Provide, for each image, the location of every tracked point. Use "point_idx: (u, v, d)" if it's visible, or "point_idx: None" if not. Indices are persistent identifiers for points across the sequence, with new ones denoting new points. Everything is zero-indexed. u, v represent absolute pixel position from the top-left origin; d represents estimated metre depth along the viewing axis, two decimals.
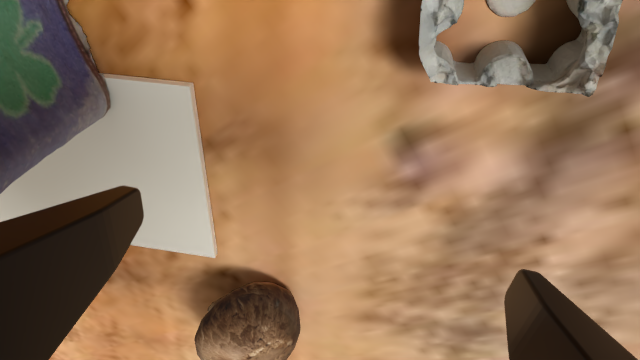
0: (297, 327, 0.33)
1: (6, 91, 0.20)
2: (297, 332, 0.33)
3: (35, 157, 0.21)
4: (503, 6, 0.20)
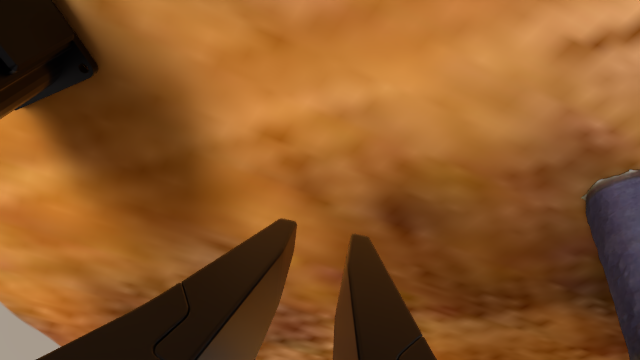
0: None
1: None
2: None
3: None
4: None
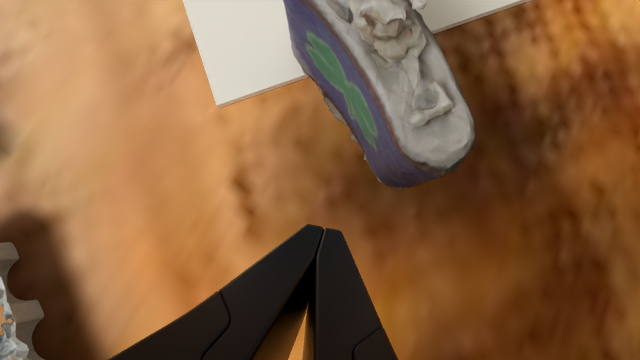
0: None
1: (326, 55, 0.18)
2: None
3: None
4: None
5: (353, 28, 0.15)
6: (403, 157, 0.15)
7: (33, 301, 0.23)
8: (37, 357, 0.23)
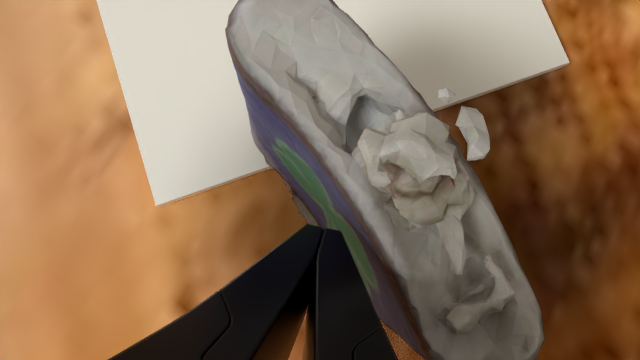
0: None
1: (304, 170, 0.13)
2: None
3: None
4: None
5: (356, 163, 0.09)
6: None
7: None
8: None
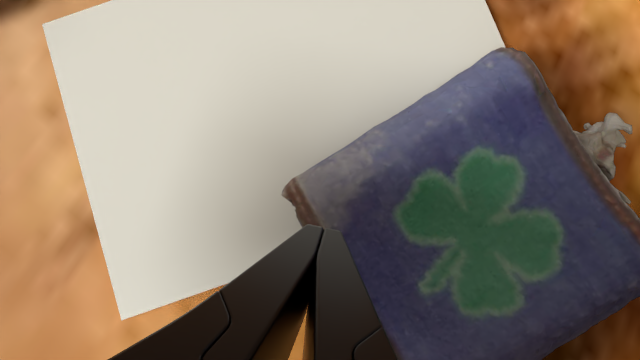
0: None
1: (484, 180, 0.16)
2: None
3: (448, 98, 0.16)
4: None
5: None
6: None
7: None
8: None
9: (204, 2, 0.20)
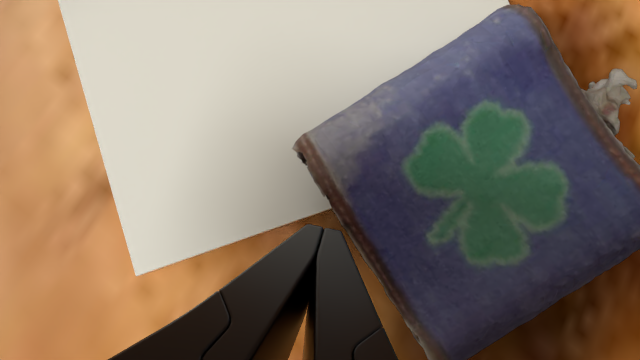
0: None
1: (491, 134, 0.16)
2: None
3: (456, 53, 0.16)
4: None
5: None
6: None
7: None
8: None
9: None
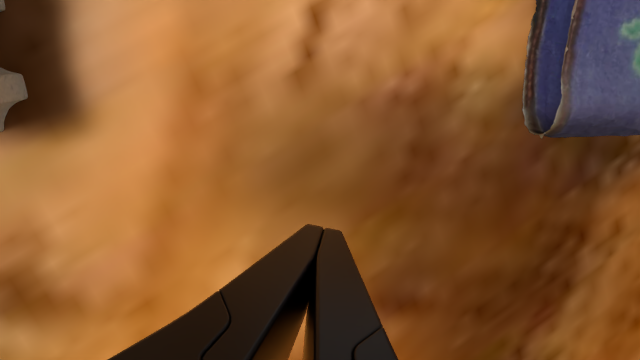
0: None
1: None
2: None
3: None
4: None
5: None
6: None
7: None
8: None
9: None
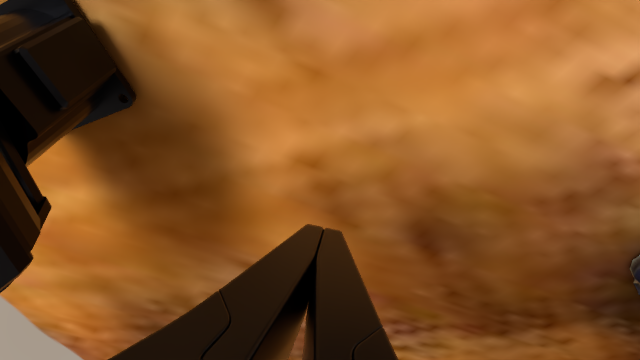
0: None
1: None
2: None
3: None
4: None
5: None
6: None
7: None
8: None
9: None
